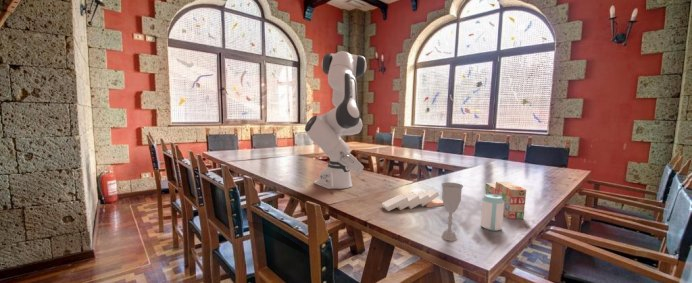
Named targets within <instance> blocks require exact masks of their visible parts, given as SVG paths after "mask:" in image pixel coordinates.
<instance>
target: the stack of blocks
mask: <svg viewBox="0 0 692 283" xmlns="http://www.w3.org/2000/svg"><path fill="white" fill-rule="evenodd" d="M485 194H496V195H500V196H502V199H503V201H504V210H503V217H505V218H507V219H508V220H509V219H510V220H511V219H512V220H514V219H515V220H517V219H518V220H523V219H524V218H525V205H526V195H527V189H525V188H523V187H522V186H520V185H517V184H516V183H513V182H511V181H495V183H494V182H493V183H491V182H485ZM485 194H484V195H485Z"/></svg>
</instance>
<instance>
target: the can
mask: <svg viewBox="0 0 692 283" xmlns="http://www.w3.org/2000/svg"><path fill="white" fill-rule="evenodd" d="M503 210H504V201H503V199H502V196H500V195H496V194H484V196H483V198H482V200H481V217H480V226H481V227H482V228H484V229H485V230H488V231H492V232H494V231H495V232H497V231H500V230H502V229H503V223H504V221H503V220H504V215H503Z"/></svg>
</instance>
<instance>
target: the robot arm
mask: <svg viewBox="0 0 692 283" xmlns="http://www.w3.org/2000/svg"><path fill="white" fill-rule="evenodd" d="M321 68H322V72H323V73H324V75H327V83H328V85H329V86H330V88H331V89H332V98H331V103H332V105H333V106H334V108H332V109H331V110H328V111H327V112H325V113H323V114H320V115H319V114H318V115H313V116H312V117H311V118H310V119H309V120H308V121H307V122H306V124H305V127H304V132H305V134H306V135H307V136H308V138H310V140H311V141H312V143H314V144H315V145H316V146H317V147H318V148H320V149H321V150H322V152H323V153H324V154H325V156H326V157H328V158H329V160H327V161H326V164H327V166H326V167H325V168H323V169H322V170H321V171H320V172H319V173H318V179H317V180H315V181H313V184H315V185H318V186H320V187H322V188H325V189H328V190H329V189H330V190H331V189H337V190H338V189H340V190H341V189H348V188H351V187H353V183H352V177H351V172H352V171H353V172H354V173H355V174H356V175H358V176H361V175H362V174H363V169H364V167H365V166H364V165H363V164H362V162H360V161H359V160H358V159H357V158H356V157H355V156H354V155H353V154H351V147H350V145H349V144H348V143H347V142H345V141H344V139H343V138H342V136H353V135H358V134H359V133H361V131H362V129H363V120H362V118H361V111H360V108H359V101H358V99H359V98H358V84H357V83H358V82H357V80H358V78H361V77H363V76H364V75H365V73H366V71H367V61H366V58H365V57H364V56H363V55H360V54H357V55H356V54H353V53H352V54H351V53H349V52H348V51H343V50H340V51H338V52H336V53H332V52H331V53H330V52H329V53H326V54H325V55H323V57H322V60H321Z"/></svg>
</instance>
